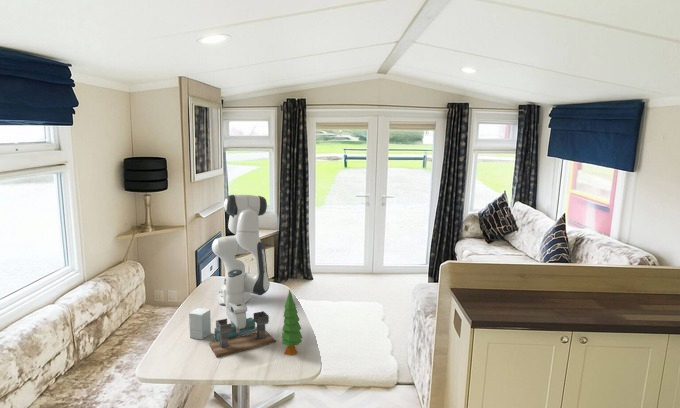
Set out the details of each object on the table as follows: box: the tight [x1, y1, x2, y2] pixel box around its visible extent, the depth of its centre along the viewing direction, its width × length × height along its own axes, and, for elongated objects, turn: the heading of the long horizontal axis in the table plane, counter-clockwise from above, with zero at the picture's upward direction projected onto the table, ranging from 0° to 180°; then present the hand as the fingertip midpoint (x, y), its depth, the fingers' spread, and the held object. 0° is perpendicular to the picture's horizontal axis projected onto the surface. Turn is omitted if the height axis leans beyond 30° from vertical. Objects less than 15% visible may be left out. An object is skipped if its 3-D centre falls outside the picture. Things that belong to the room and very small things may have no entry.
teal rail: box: [214, 317, 256, 342], centre depth 204 cm, size 4×20×6 cm, turn 133°
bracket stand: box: [208, 310, 276, 358], centre depth 194 cm, size 12×28×13 cm, turn 122°
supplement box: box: [188, 307, 212, 341], centre depth 202 cm, size 7×7×13 cm
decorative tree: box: [281, 289, 303, 356], centre depth 187 cm, size 10×9×30 cm
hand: (235, 330), depth 204 cm, fingers closed on teal rail, 4 cm apart
